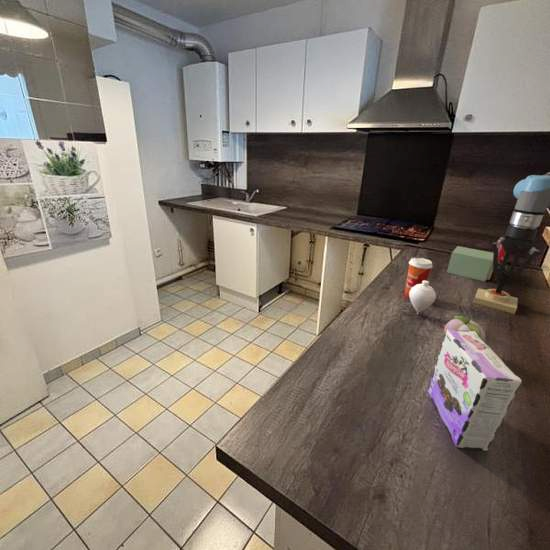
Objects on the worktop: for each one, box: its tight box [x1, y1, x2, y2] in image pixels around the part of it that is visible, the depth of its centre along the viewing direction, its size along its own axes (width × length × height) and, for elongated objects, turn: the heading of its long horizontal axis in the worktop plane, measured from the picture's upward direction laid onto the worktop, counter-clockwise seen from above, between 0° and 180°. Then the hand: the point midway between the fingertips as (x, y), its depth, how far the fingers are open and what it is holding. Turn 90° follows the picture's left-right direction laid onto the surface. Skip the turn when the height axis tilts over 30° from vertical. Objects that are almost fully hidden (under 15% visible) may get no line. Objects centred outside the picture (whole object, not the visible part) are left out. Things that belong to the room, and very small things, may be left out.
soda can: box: [492, 236, 512, 264], centre depth 144 cm, size 7×7×12 cm
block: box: [472, 287, 519, 315], centre depth 104 cm, size 12×10×4 cm
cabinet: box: [446, 245, 493, 283], centre depth 129 cm, size 15×13×10 cm
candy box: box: [427, 330, 523, 452], centre depth 55 cm, size 14×6×16 cm, turn 175°
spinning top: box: [409, 280, 437, 315], centre depth 93 cm, size 8×8×12 cm
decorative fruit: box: [443, 315, 486, 342], centre depth 77 cm, size 9×8×10 cm
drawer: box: [486, 261, 508, 281], centre depth 127 cm, size 18×11×8 cm, turn 51°
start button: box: [491, 290, 505, 296], centre depth 103 cm, size 4×4×2 cm
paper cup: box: [404, 257, 434, 299], centre depth 105 cm, size 8×8×14 cm
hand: (498, 291), depth 103 cm, fingers closed
